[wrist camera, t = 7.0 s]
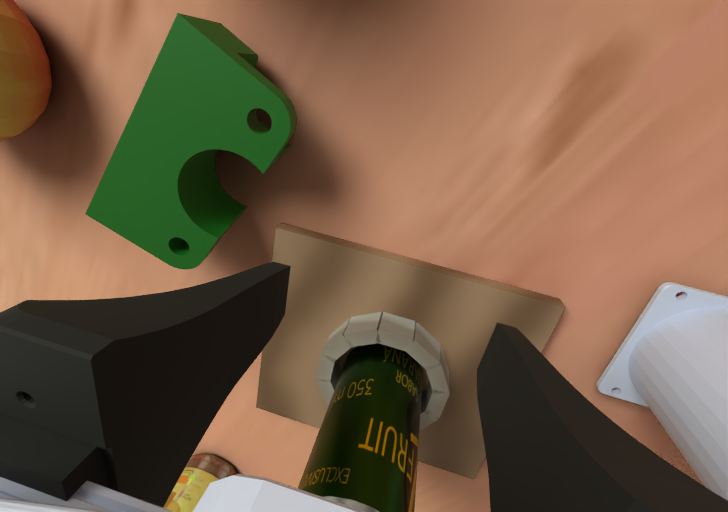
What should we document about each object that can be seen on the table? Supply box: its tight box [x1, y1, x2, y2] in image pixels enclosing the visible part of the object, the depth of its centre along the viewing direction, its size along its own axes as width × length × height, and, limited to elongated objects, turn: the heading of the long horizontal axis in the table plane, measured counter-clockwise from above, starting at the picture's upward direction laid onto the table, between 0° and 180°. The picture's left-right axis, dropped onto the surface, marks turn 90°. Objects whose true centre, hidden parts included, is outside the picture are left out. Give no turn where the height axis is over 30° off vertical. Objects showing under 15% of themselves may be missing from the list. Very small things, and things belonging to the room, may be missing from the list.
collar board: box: [256, 223, 565, 479], centre depth 24 cm, size 18×16×3 cm
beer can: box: [298, 343, 423, 512], centre depth 19 cm, size 5×5×12 cm
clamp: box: [86, 13, 297, 269], centre depth 19 cm, size 12×6×9 cm, turn 135°
